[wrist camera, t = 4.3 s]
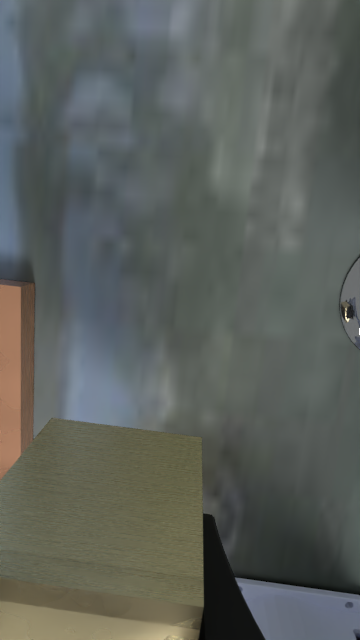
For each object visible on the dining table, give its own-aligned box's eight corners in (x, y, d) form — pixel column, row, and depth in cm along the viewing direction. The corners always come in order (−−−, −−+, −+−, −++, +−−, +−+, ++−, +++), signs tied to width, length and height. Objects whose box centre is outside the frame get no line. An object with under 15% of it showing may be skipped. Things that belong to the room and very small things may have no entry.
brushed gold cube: (201, 437, 13) (203, 607, 7) (184, 560, 14) (173, 790, 8) (51, 417, 13) (-72, 567, 7) (48, 540, 14) (-58, 753, 8)
